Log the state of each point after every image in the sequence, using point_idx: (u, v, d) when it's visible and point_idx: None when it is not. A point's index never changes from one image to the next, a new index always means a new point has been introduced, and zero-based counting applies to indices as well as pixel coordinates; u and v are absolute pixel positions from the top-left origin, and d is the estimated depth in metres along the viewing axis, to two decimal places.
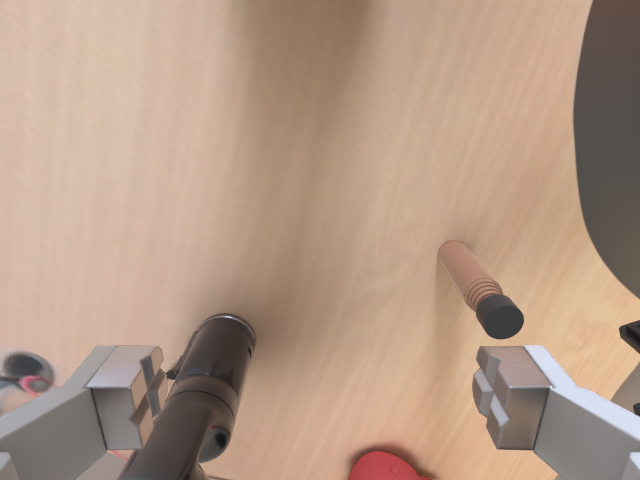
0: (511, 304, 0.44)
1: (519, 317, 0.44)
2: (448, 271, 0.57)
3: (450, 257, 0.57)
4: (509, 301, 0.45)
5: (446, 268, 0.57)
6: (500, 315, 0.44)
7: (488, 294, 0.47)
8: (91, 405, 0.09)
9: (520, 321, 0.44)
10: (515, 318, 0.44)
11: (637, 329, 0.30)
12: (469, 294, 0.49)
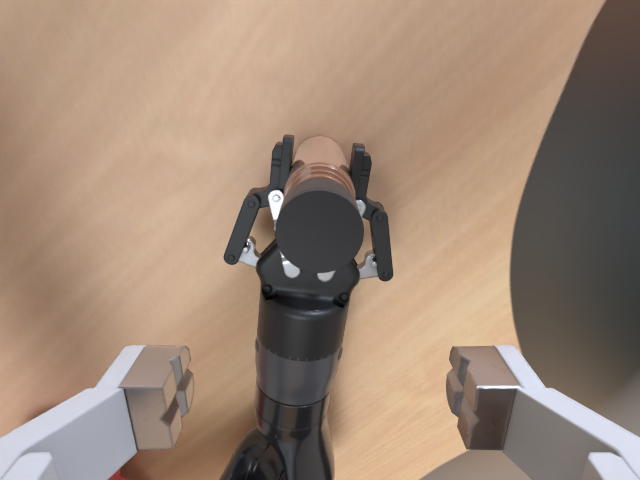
0: (352, 202, 0.20)
1: (354, 237, 0.20)
2: (293, 161, 0.31)
3: (309, 144, 0.32)
4: (352, 199, 0.20)
5: (294, 159, 0.32)
6: (319, 212, 0.19)
7: None
8: (123, 405, 0.09)
9: (352, 247, 0.20)
10: (345, 235, 0.20)
11: None
12: (294, 179, 0.24)
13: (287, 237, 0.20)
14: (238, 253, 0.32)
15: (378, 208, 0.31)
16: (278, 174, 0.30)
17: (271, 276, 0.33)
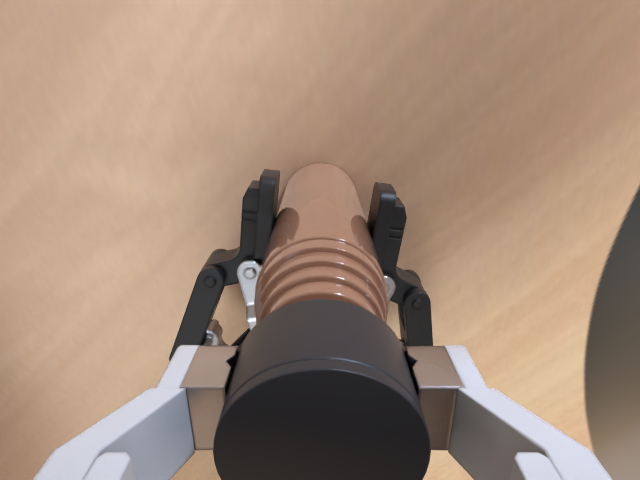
0: (404, 384, 0.08)
1: (407, 465, 0.08)
2: (279, 210, 0.20)
3: (304, 182, 0.21)
4: (400, 364, 0.09)
5: (281, 204, 0.21)
6: (322, 415, 0.08)
7: (332, 297, 0.11)
8: (183, 405, 0.09)
9: None
10: (386, 461, 0.08)
11: None
12: (273, 272, 0.13)
13: (244, 465, 0.08)
14: None
15: (415, 286, 0.19)
16: (253, 234, 0.18)
17: None
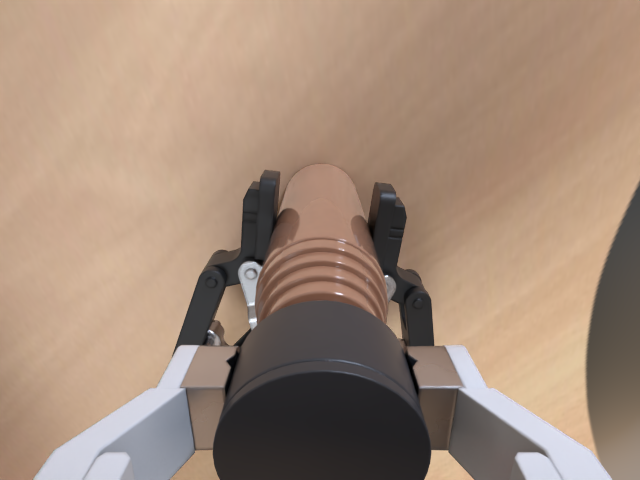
0: (246, 379, 0.08)
1: (330, 392, 0.07)
2: (279, 211, 0.20)
3: (305, 182, 0.21)
4: (255, 354, 0.08)
5: (281, 205, 0.21)
6: (267, 460, 0.08)
7: (331, 296, 0.11)
8: (183, 405, 0.09)
9: (360, 395, 0.07)
10: (327, 408, 0.08)
11: None
12: (273, 272, 0.13)
13: None
14: None
15: (415, 286, 0.19)
16: (254, 235, 0.18)
17: None
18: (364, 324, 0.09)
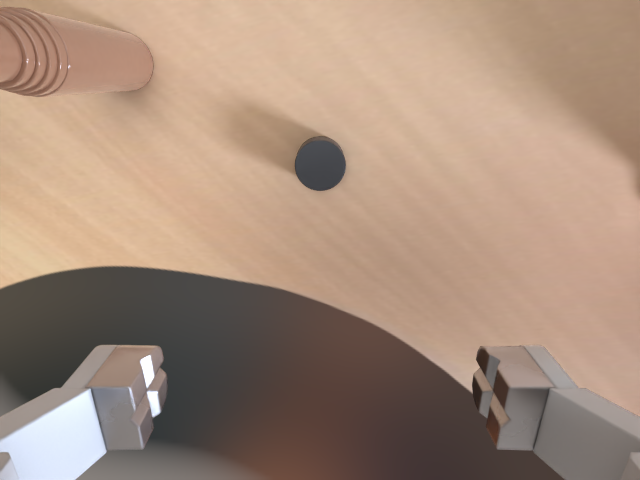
0: (301, 147, 0.34)
1: (320, 145, 0.34)
2: (98, 26, 0.28)
3: (126, 46, 0.30)
4: (302, 145, 0.35)
5: (105, 28, 0.29)
6: (307, 167, 0.35)
7: (24, 56, 0.20)
8: (91, 405, 0.09)
9: (327, 146, 0.34)
10: (320, 150, 0.34)
11: None
12: (35, 20, 0.21)
13: (324, 183, 0.35)
14: None
15: None
16: None
17: None
18: (329, 139, 0.36)
